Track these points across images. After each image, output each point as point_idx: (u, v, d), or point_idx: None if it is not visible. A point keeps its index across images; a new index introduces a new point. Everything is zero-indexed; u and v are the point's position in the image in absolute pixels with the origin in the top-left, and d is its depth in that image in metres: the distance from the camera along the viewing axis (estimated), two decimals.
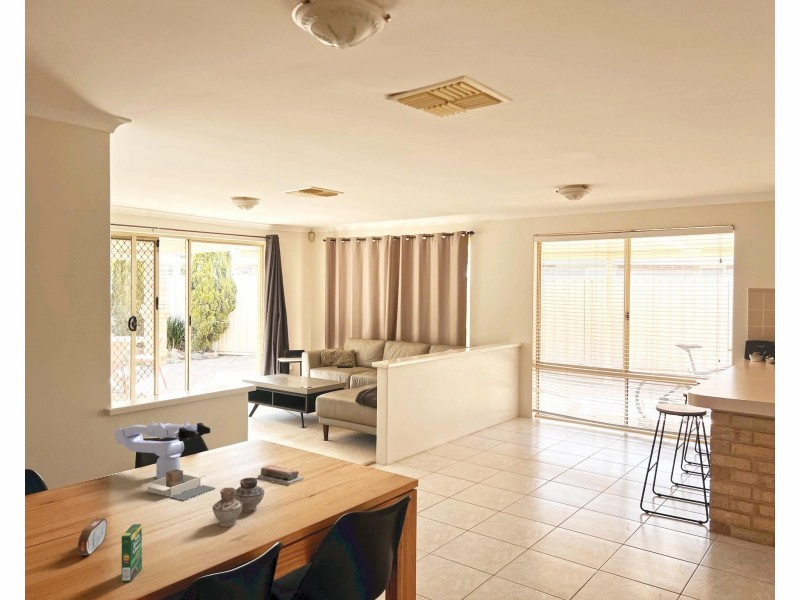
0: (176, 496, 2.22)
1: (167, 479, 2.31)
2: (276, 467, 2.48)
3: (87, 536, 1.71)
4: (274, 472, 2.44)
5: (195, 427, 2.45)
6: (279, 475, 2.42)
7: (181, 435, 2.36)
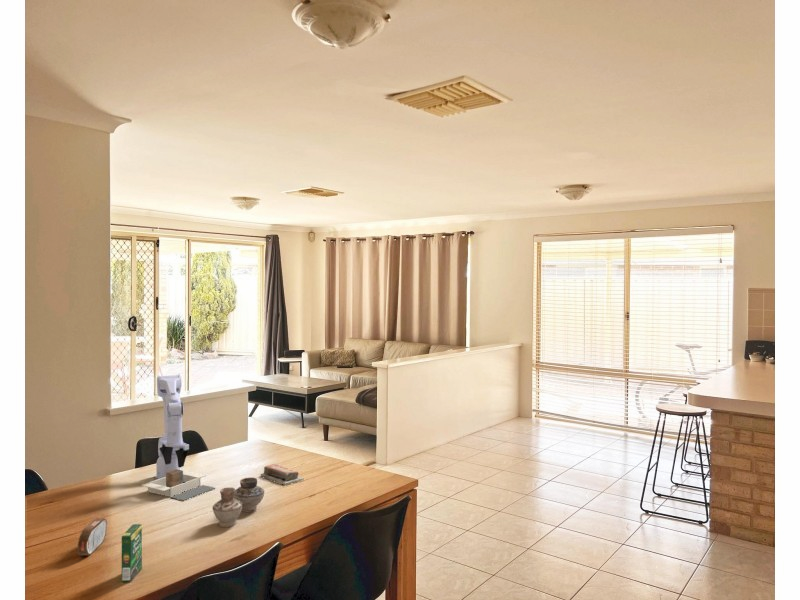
0: (176, 496, 2.22)
1: (167, 479, 2.31)
2: (278, 466, 2.49)
3: (87, 536, 1.71)
4: (274, 471, 2.45)
5: None
6: (278, 475, 2.43)
7: None
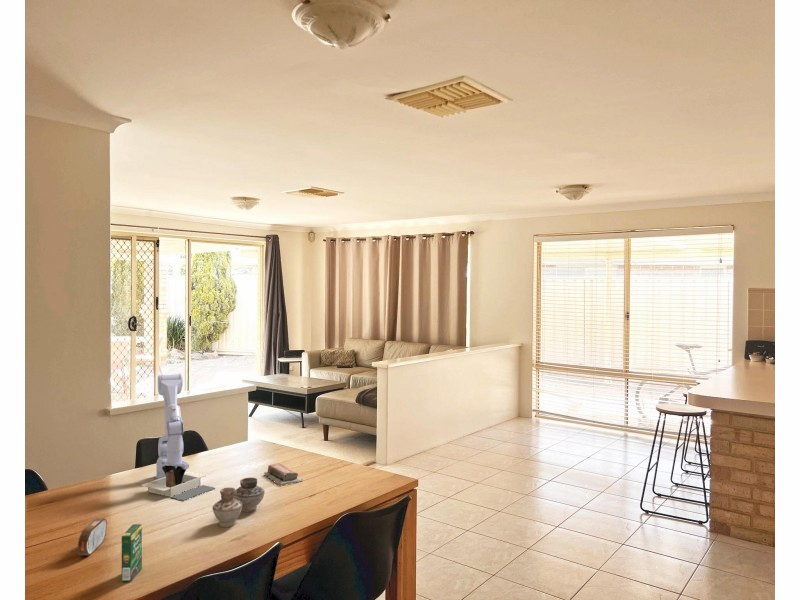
0: (176, 496, 2.22)
1: (167, 479, 2.31)
2: (281, 466, 2.49)
3: (87, 536, 1.71)
4: (275, 470, 2.46)
5: None
6: (278, 474, 2.43)
7: None
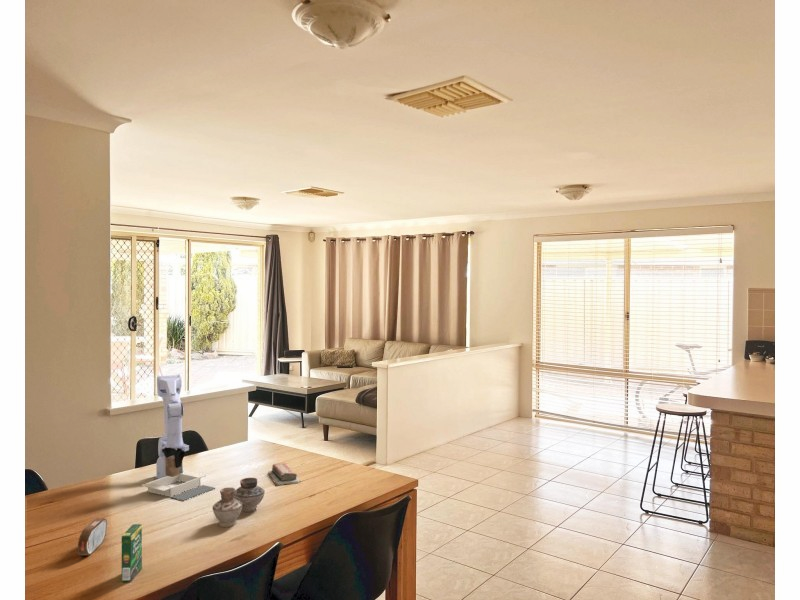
0: (176, 496, 2.22)
1: (166, 465, 2.30)
2: (283, 466, 2.50)
3: (87, 536, 1.71)
4: (276, 470, 2.46)
5: None
6: (278, 474, 2.44)
7: None
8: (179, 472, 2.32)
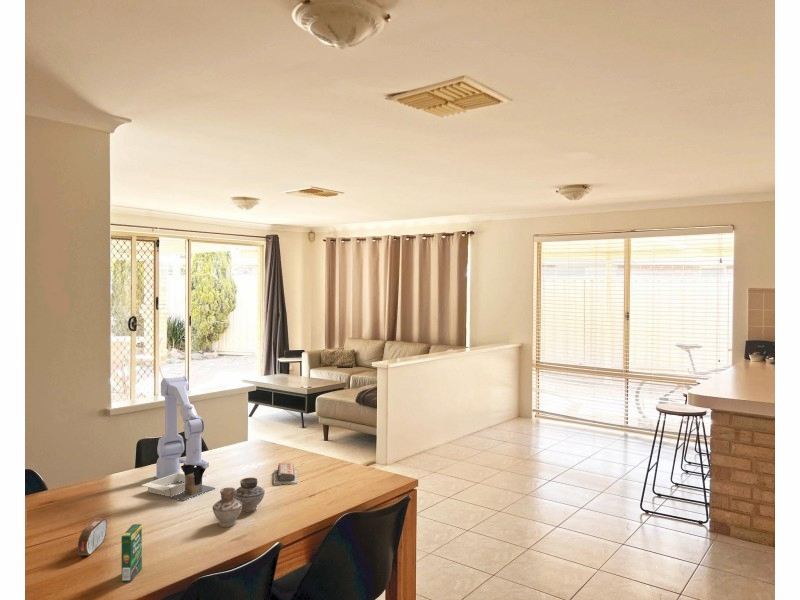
0: (176, 496, 2.22)
1: (186, 482, 2.25)
2: (287, 466, 2.50)
3: (87, 536, 1.71)
4: (278, 469, 2.47)
5: None
6: None
7: None
8: (199, 491, 2.27)
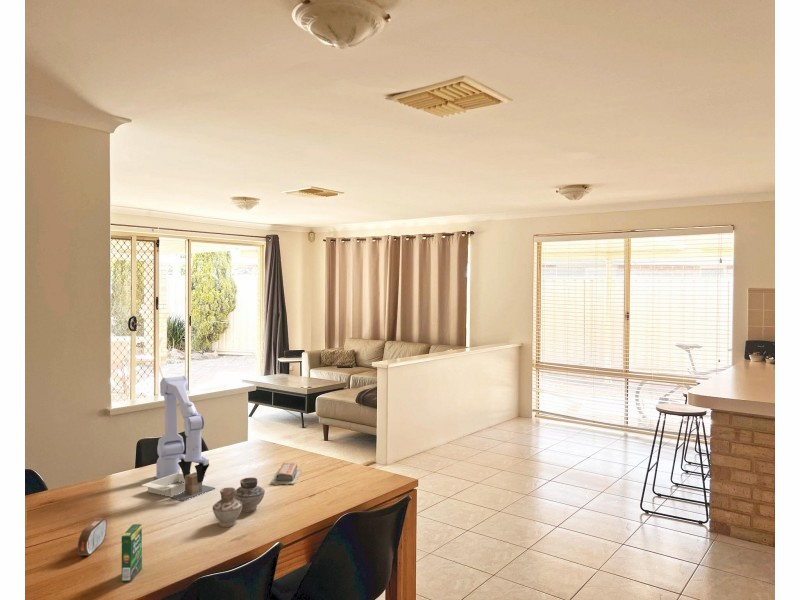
0: (176, 496, 2.22)
1: (186, 482, 2.25)
2: (289, 466, 2.50)
3: (87, 536, 1.71)
4: (279, 469, 2.48)
5: None
6: None
7: None
8: (199, 491, 2.27)
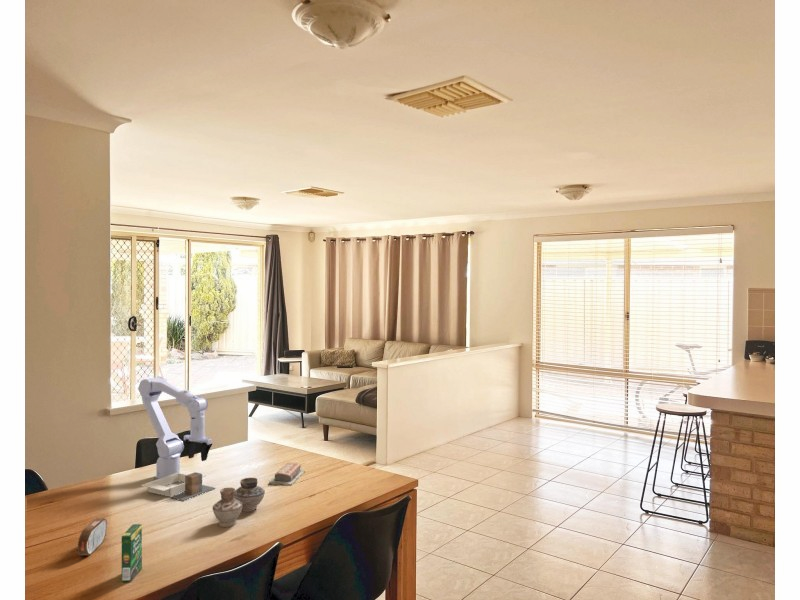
0: (176, 496, 2.22)
1: (186, 482, 2.25)
2: (291, 466, 2.50)
3: (87, 536, 1.71)
4: None
5: None
6: None
7: None
8: (199, 491, 2.27)
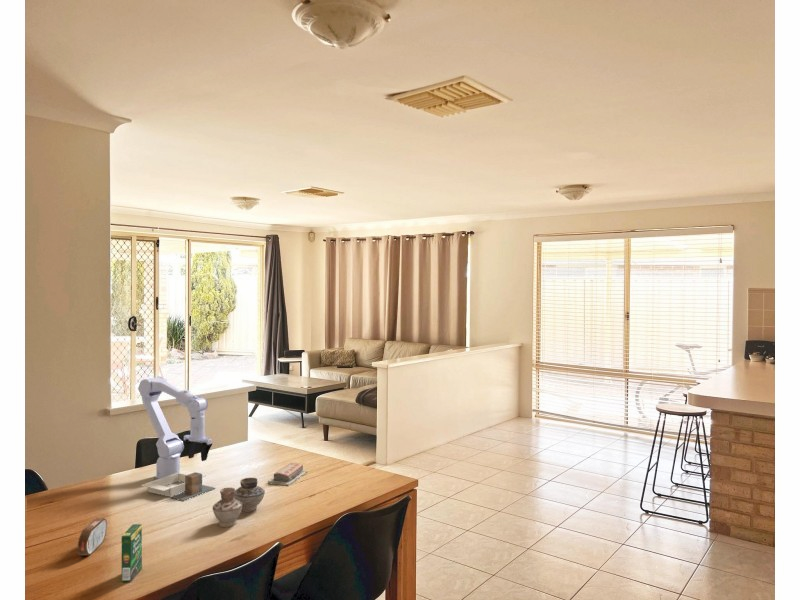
0: (176, 496, 2.22)
1: (186, 482, 2.25)
2: (292, 466, 2.49)
3: (87, 536, 1.71)
4: None
5: None
6: None
7: None
8: (199, 491, 2.27)
